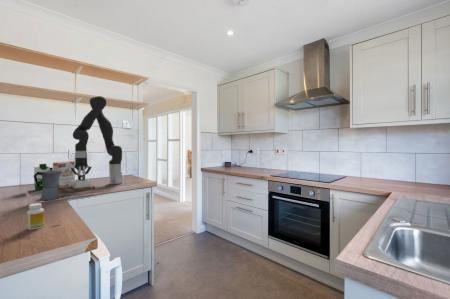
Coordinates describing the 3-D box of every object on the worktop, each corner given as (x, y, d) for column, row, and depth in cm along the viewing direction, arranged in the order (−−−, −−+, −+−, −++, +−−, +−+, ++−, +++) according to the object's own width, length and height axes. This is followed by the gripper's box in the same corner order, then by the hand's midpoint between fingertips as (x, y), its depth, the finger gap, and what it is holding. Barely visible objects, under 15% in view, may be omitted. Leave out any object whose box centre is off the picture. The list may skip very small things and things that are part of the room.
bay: (90, 187, 171) (89, 176, 170) (95, 190, 161) (94, 178, 161) (53, 192, 154) (53, 180, 154) (56, 195, 145) (56, 182, 145)
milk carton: (36, 192, 155) (36, 164, 154) (33, 190, 160) (32, 164, 159) (52, 190, 162) (51, 163, 161) (47, 188, 167) (47, 163, 166)
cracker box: (59, 190, 161) (58, 162, 161) (52, 190, 162) (51, 162, 162) (75, 186, 175) (75, 161, 174) (69, 186, 176) (68, 160, 176)
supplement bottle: (47, 225, 92) (47, 202, 92) (34, 230, 87) (34, 206, 86) (37, 224, 93) (36, 202, 92) (23, 229, 87) (23, 205, 87)
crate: (86, 187, 168) (86, 173, 167) (90, 188, 161) (90, 175, 160) (73, 188, 161) (72, 175, 161) (76, 190, 154) (75, 176, 154)
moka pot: (67, 197, 140) (66, 166, 140) (40, 203, 126) (39, 169, 125) (57, 196, 143) (56, 166, 143) (29, 202, 129) (28, 168, 128)
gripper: (90, 156, 168) (90, 178, 168) (68, 157, 158) (69, 180, 158) (93, 156, 163) (93, 179, 163) (71, 157, 153) (71, 181, 153)
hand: (81, 180), depth 161 cm, fingers closed on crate
